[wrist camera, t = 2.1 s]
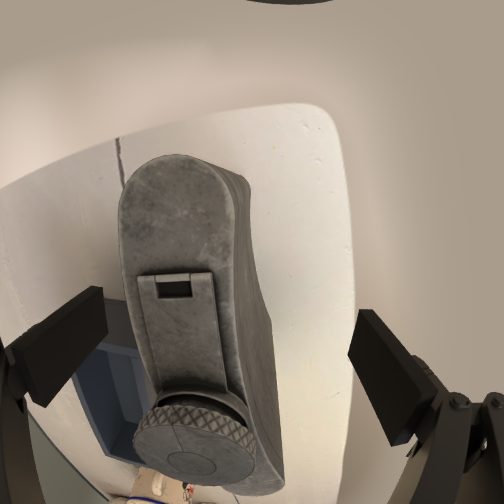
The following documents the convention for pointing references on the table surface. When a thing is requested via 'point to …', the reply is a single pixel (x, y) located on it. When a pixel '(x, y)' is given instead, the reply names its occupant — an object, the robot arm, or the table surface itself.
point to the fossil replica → (118, 501)
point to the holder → (115, 387)
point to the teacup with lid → (159, 489)
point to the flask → (200, 327)
